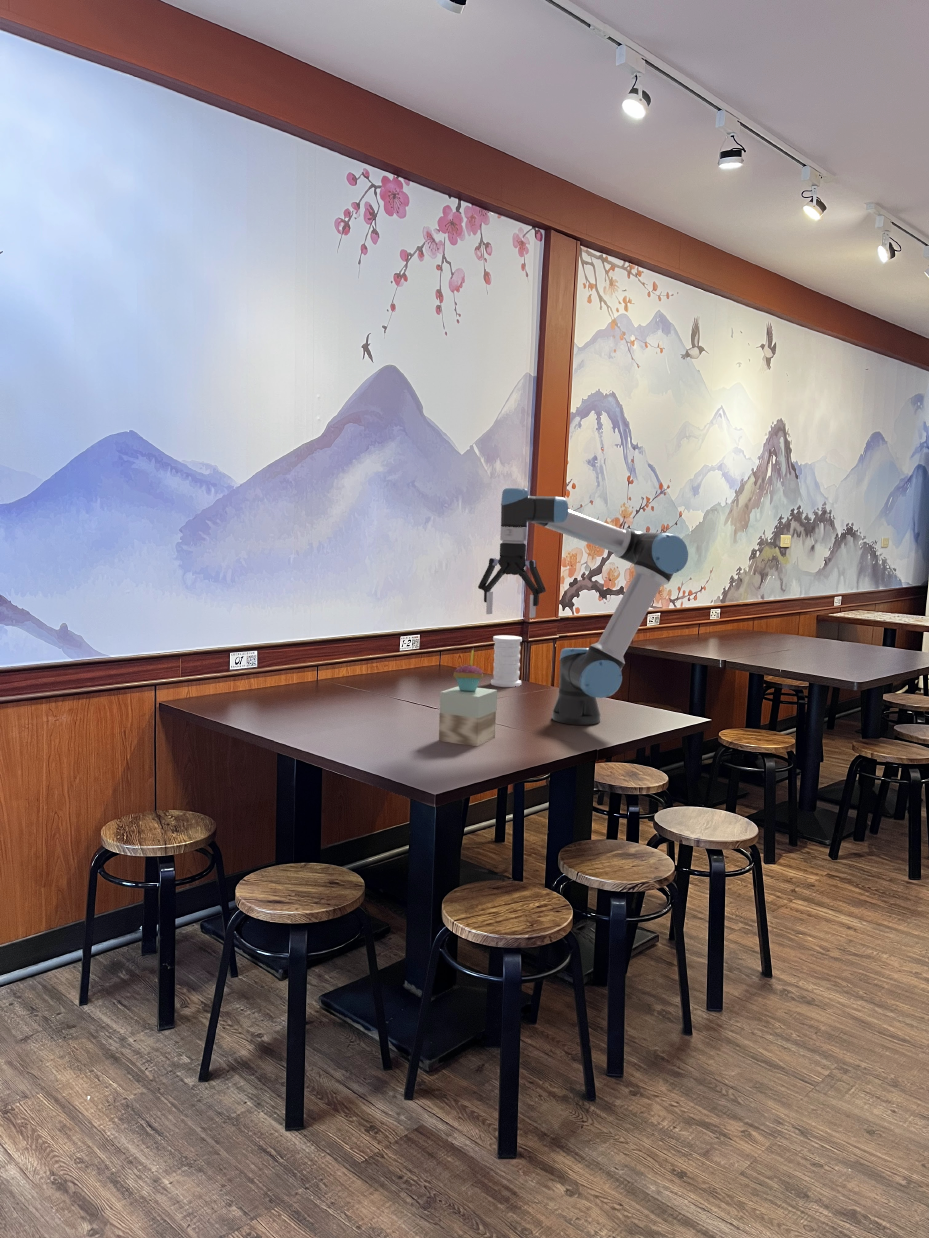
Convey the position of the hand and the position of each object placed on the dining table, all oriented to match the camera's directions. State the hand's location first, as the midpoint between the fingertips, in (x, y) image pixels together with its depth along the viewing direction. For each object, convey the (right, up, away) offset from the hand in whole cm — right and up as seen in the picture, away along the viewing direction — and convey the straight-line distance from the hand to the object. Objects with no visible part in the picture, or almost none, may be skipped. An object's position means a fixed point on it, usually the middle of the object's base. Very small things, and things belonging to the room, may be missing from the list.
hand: (510, 615), depth 267 cm
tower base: (-13, -35, -5) cm, 38 cm away
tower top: (-12, -27, -6) cm, 30 cm away
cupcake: (-12, -21, -6) cm, 25 cm away
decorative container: (+2, -26, +83) cm, 86 cm away
